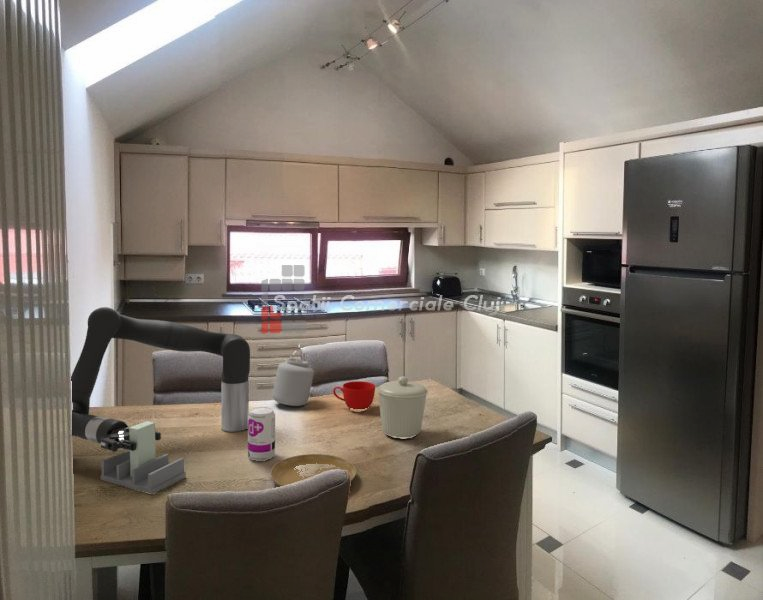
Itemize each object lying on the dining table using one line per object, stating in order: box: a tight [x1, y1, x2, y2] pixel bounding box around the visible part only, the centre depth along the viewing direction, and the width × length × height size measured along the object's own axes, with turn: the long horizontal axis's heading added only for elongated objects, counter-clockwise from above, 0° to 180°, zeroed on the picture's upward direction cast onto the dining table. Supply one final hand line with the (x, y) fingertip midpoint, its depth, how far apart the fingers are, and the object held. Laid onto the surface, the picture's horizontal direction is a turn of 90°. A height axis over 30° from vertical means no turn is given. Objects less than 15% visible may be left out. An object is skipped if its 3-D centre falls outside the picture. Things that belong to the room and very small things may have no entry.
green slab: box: [128, 420, 157, 477], centre depth 150 cm, size 3×6×14 cm, turn 156°
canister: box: [376, 375, 429, 437], centre depth 189 cm, size 18×18×21 cm
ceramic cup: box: [332, 380, 376, 409], centre depth 215 cm, size 13×17×10 cm
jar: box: [271, 343, 316, 407], centre depth 219 cm, size 19×15×25 cm
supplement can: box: [247, 406, 276, 462], centre depth 167 cm, size 8×8×15 cm
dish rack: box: [100, 449, 186, 495], centre depth 150 cm, size 19×12×6 cm, turn 66°
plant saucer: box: [270, 453, 357, 488], centre depth 153 cm, size 24×24×3 cm
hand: (147, 441), depth 149 cm, fingers open, 8 cm apart
